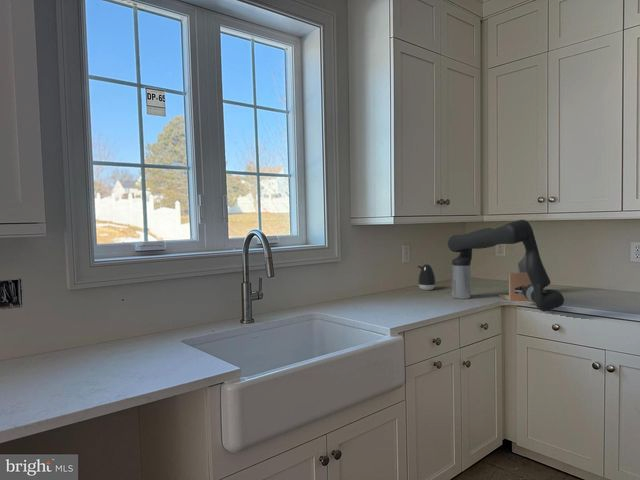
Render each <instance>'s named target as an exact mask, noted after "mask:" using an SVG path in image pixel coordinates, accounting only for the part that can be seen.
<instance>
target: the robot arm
mask: <svg viewBox="0 0 640 480" xmlns="http://www.w3.org/2000/svg"><path fill="white" fill-rule="evenodd" d="M518 243H523V246H524V250H525V249H526V271H527V274H528V276H529V279H530V281H531V282H532V284H530V285H527V286H521V287H517V288H515V293H516V294H517V293H521V294H524V296H525V298H526V299H528V300H530V301H529V302H532V303H535V305H536V307H537V309H538V310H539V311H541V312H547V311H551V310H553V309H556V308H560V307H562V306H563V305H564V304H565V297H564V296H563V294H562V293H561V292H560V291H558V290H556V289H553V288H552V289H551V288H550V289H545V288H546V287H548V286H550V285H551V280H550V278H549V276H548V272H547V271H546V269H545V266H544V264H543V262H542V259H541V255H540V252H539V248H538V244H537V240H536V236H535V233H534V231H533V228H532V226H531V224H530V223H529V221H527V220H526V219H518V220H515V221H512V222H508V223H505V224H503V225H501V226H498V227H496V228H491V227H486V228H481V229H478V230H474V231H470V232H468V233H464V234H453V235H451V236H450V237H449V238H448V241H447V247H448V249H449V250H450V251H451V252H453V253H459V255H458V256H457V257H455V258H453V259H452V260H451V264H452V265H451V273H452V274H451V275H452V276H451V281H450V282H451V297H452V298H453V299H459V300H460V299H464V300H467V299H471V298H472V296H471V295H472V293H471V292H472V291H471V290H472V289H471V286H472V285H471V281H472V280H471V271H472V270H471V261H472V256H473V250H474V249H488V248H492V247H495V246H497V245H514V244H518Z"/></svg>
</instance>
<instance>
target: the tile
mask: <svg viewBox="0 0 640 480" xmlns="http://www.w3.org/2000/svg"><path fill="white" fill-rule="evenodd" d="M508 278H509V279H508V295H509V301H510V302H531V301H530V300H528V299H526V298H525V296H524V294H521V293H517V294H516V293H515V288H517V287H521V286H527V285H530V284H531V281H530V279H529V276H528V274H527V272H525V273H518V272H508Z"/></svg>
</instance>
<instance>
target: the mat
mask: <svg viewBox="0 0 640 480" xmlns="http://www.w3.org/2000/svg"><path fill="white" fill-rule="evenodd" d="M497 296H498V297H499V298H501V299H502V300H509V294H497ZM509 301H510V300H509Z"/></svg>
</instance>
